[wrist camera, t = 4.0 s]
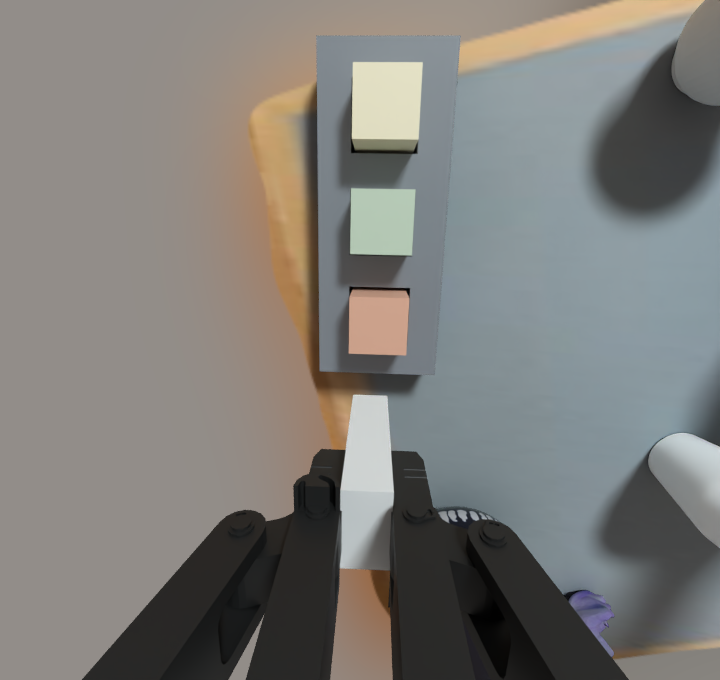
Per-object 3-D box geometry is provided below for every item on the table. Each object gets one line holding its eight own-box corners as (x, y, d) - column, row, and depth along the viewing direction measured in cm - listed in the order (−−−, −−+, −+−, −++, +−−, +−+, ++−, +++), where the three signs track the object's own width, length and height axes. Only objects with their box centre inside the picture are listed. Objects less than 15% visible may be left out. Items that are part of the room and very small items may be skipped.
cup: (690, 497, 48) (787, 581, 37) (623, 476, 48) (700, 553, 36) (731, 436, 46) (849, 505, 34) (661, 413, 46) (757, 475, 34)
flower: (523, 668, 49) (619, 706, 44) (525, 594, 50) (618, 623, 45) (531, 632, 57) (612, 660, 52) (532, 569, 58) (612, 591, 53)
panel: (324, 60, 37) (316, 35, 33) (449, 60, 37) (460, 35, 32) (325, 356, 46) (319, 371, 41) (428, 359, 45) (434, 375, 40)
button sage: (355, 195, 38) (350, 188, 32) (409, 196, 38) (415, 189, 32) (354, 250, 40) (350, 254, 33) (406, 251, 39) (411, 255, 33)
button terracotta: (353, 286, 41) (349, 296, 34) (404, 287, 40) (409, 298, 34) (353, 335, 42) (348, 353, 36) (402, 336, 42) (406, 355, 36)
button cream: (357, 91, 36) (352, 61, 30) (415, 91, 36) (422, 62, 29) (356, 154, 37) (351, 138, 31) (411, 154, 37) (418, 139, 31)
